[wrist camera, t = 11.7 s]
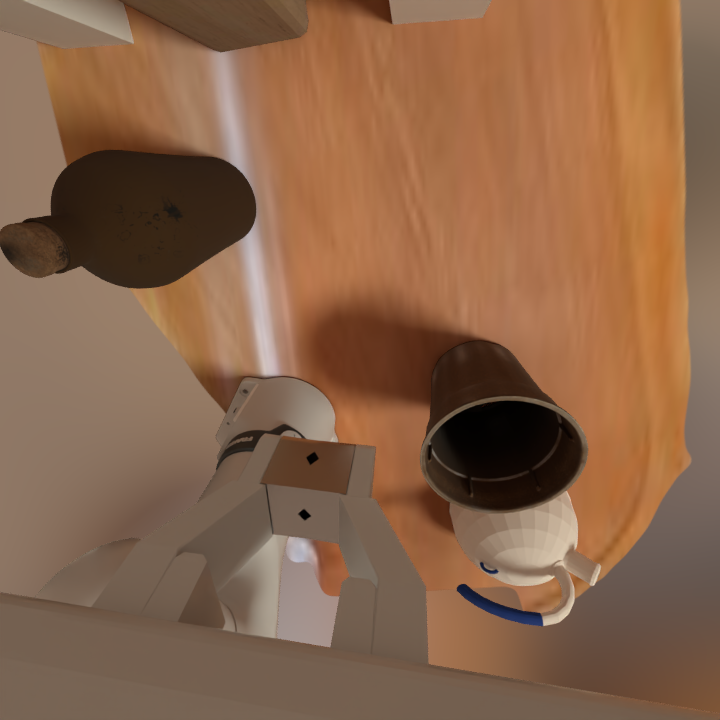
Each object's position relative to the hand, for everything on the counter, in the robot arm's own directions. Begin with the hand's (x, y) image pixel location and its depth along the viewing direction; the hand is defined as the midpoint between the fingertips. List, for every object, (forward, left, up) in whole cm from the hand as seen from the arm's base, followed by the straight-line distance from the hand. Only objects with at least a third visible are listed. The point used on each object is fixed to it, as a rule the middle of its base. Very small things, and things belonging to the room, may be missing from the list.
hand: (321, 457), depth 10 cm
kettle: (-21, -48, -38) cm, 64 cm away
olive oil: (-12, +17, -37) cm, 43 cm away
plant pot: (-7, -23, -37) cm, 44 cm away
